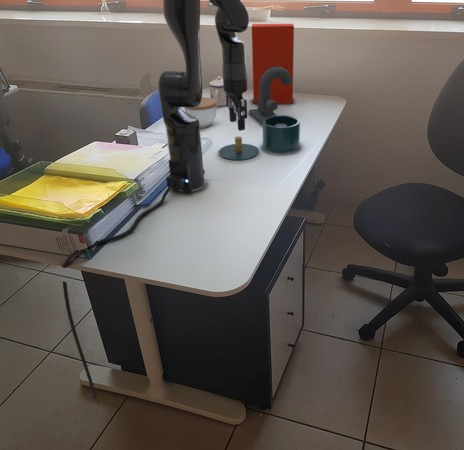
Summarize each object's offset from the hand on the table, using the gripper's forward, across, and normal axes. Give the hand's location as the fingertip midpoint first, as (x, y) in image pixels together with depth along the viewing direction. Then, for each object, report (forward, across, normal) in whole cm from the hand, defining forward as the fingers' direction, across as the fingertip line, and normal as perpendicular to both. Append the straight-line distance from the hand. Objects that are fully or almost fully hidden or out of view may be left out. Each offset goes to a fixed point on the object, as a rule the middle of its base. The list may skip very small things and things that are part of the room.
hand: (237, 125), depth 153 cm
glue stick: (+10, 0, +16) cm, 18 cm away
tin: (+10, +1, +16) cm, 19 cm away
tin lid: (+9, 0, 0) cm, 9 cm away
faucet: (+11, -30, +26) cm, 41 cm away
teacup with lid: (+11, -56, +10) cm, 58 cm away
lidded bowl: (+10, -34, -4) cm, 35 cm away
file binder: (+11, -51, +34) cm, 62 cm away
